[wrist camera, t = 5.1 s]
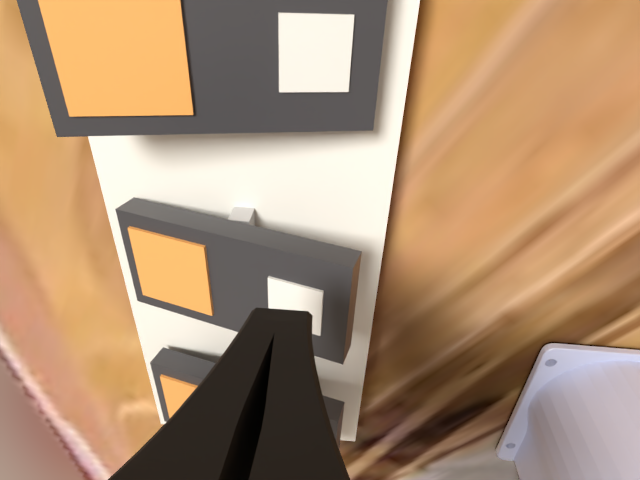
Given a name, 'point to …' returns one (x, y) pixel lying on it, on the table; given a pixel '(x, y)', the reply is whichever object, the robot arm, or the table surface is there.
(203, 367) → the rocker far
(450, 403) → the table surface
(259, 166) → the switch strip
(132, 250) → the rocker middle
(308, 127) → the rocker near
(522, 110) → the table surface
